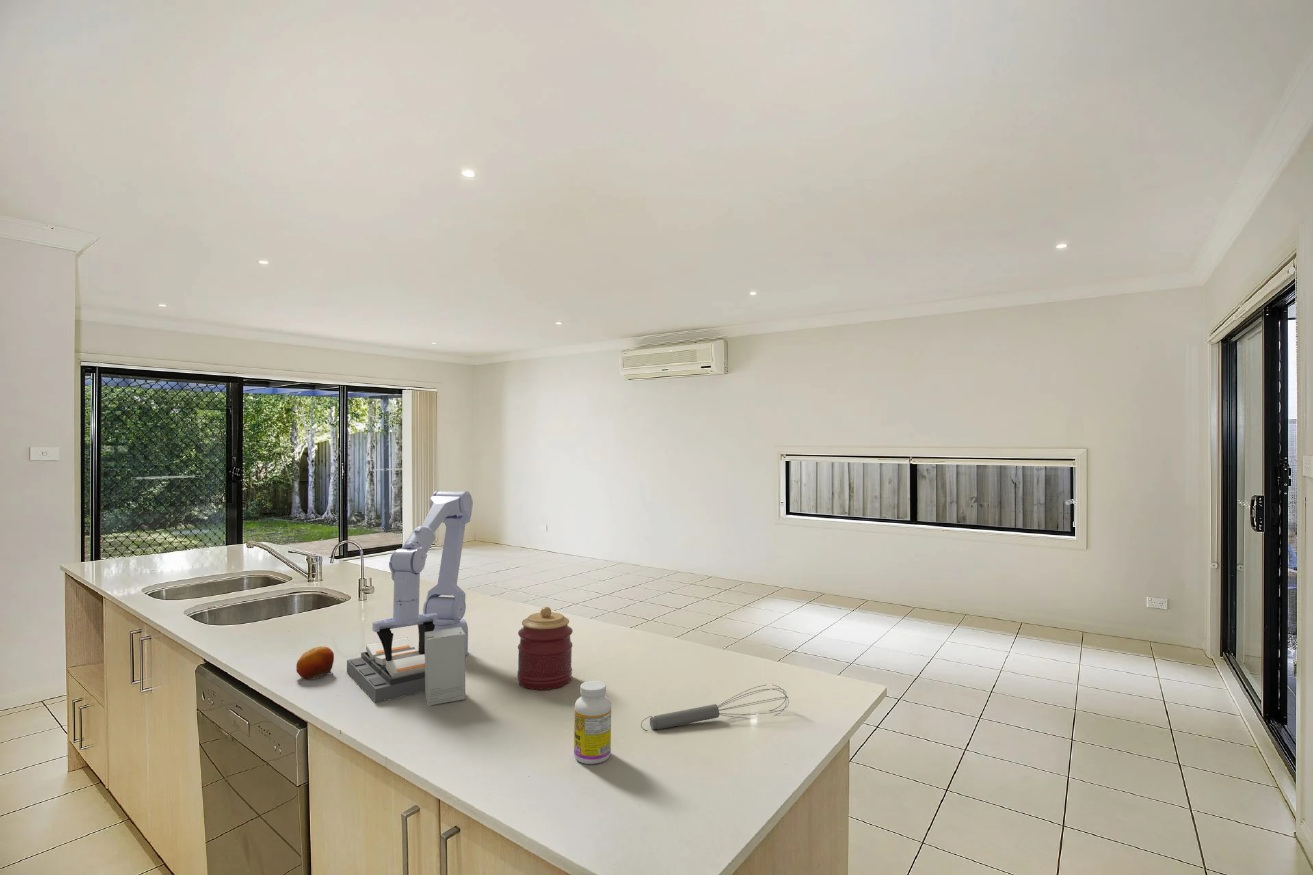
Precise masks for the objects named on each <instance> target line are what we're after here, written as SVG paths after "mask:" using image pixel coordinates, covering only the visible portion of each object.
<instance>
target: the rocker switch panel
mask: <svg viewBox="0 0 1313 875" xmlns="http://www.w3.org/2000/svg"><path fill="white" fill-rule="evenodd" d="M414 649H416V647H414ZM346 673H347V674H348V675H349V676H350V678H352V680H353V681H354V682H355V683H356V684H357V685H358V686H359V687H360V689H362V691H363V692H365V693H366V695H367V696H368V697H369V698H370V699H371V700H372V701H373V702H374V703H375V704H377V703H381V702H385V701H389V700H394V699H397V698H403V697H406V696H410V695H415V694H420V693H425V672H421V673H417V674H412V675H407V676H403V677H398V678H394V679H392V677H391V675H390V674H389V672H388V671H387V669H386V664H385V665H381V664H378V663H375V659H373V660H372V659H371V658H370V656H369V654H368V653H367V651H363V652H361V654H360V657H356V658H350V659H347V660H346Z"/></svg>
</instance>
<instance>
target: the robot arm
mask: <svg viewBox="0 0 1313 875" xmlns="http://www.w3.org/2000/svg"><path fill="white" fill-rule="evenodd" d="M473 504H474V502H473V498H472V495H471V493H470V492H469V491H468V490H464V491H455V490H454V491H453V490H450V491H448V490H435V491H433V493H432V494H431V496H430V499H429V511H428V513H427V515H426V516H425V518H424V520H423V522H422V524H421V525H420V526H417V527H415V528H413V531H412V532H411V534H410V535H409V536H408V538H407V539H406V541H405V542H404V543H403V545H402V547H401V548H397V549H396V550H395V551H393V552H392V554H391V555H390V558H389V561H388V567H389V571H390V572H391V579H392V581H393V601H392V602H393V605H392V606H393V608H392V609H393V610H392V611H393V612H392V617H391V618H386V619H383V620H378V621H373V622H372V629H371V630H372V632H375V633H376V634H377V637H378V638H379V640H380V642H381V643H382V645H383V649H384V652H385V658H386V661H391V660H392V640H394V633H393V632H392V630H393V629H399V628H405V627H411V626H417V629H418V648H417V649H418V650H419V654H420V655H422V654H425V632H430V631H437V630H444V629H451V628H457V627H461V628H462V630H463V631H464V633H465V656H467V655H470V653H469V651H468V650H469V648H468V647H469V627H468V623H467V621H466V620H465V619H464V617H465V613H466V609H467V604H466V592H465V591H464V590H463V589H462V588H461V587H459V585H458V578H459V571H460V564H461V557H462V550H463V545H464V537H465V530H466V524H469V523H470V522H471V518H472V512H473ZM442 523H443V524H444V525H445V534H444V540H443V546H442V554H441V558H440V559H441V560H440V564H439V565H440V566H439V572H438V578H437V579H438V580H437V584H436V585H434V586H433V587H432V588H430V589H429V590H427V595H426V599H425V601H424V603H423V607H422V614H420V583H421V578H420V577H421V576H420V575H421V573H422V571H423V570H424V569H425V565H426V561H427V560H426V559H427V557H428V554H427V553H428V552H429V550H430V548H431V547H432V545H433V544H434V542H435V541H436V534H435V532H436V531H437V530H438V528H439V527H440V526H441V524H442ZM391 629H392V630H391Z"/></svg>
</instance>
